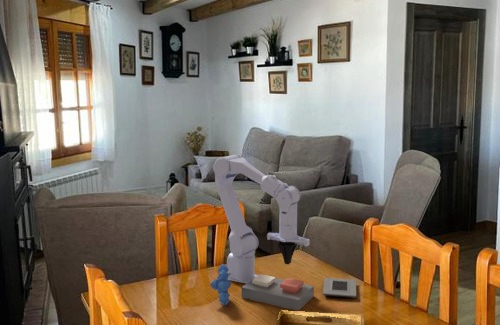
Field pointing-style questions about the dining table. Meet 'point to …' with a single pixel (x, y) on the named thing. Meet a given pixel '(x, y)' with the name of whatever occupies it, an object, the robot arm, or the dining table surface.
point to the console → (278, 295)
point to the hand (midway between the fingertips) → (287, 263)
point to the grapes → (222, 284)
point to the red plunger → (291, 285)
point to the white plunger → (263, 280)
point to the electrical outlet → (339, 287)
